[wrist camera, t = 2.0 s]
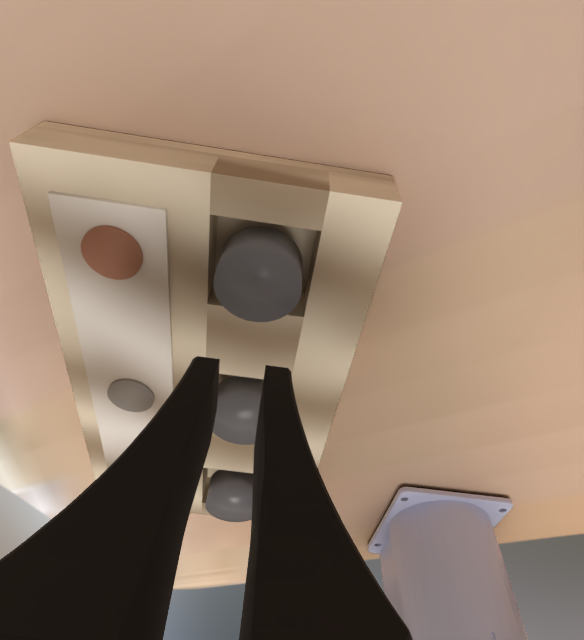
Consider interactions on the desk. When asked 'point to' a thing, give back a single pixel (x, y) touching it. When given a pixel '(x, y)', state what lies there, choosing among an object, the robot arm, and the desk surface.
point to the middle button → (238, 409)
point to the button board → (193, 274)
